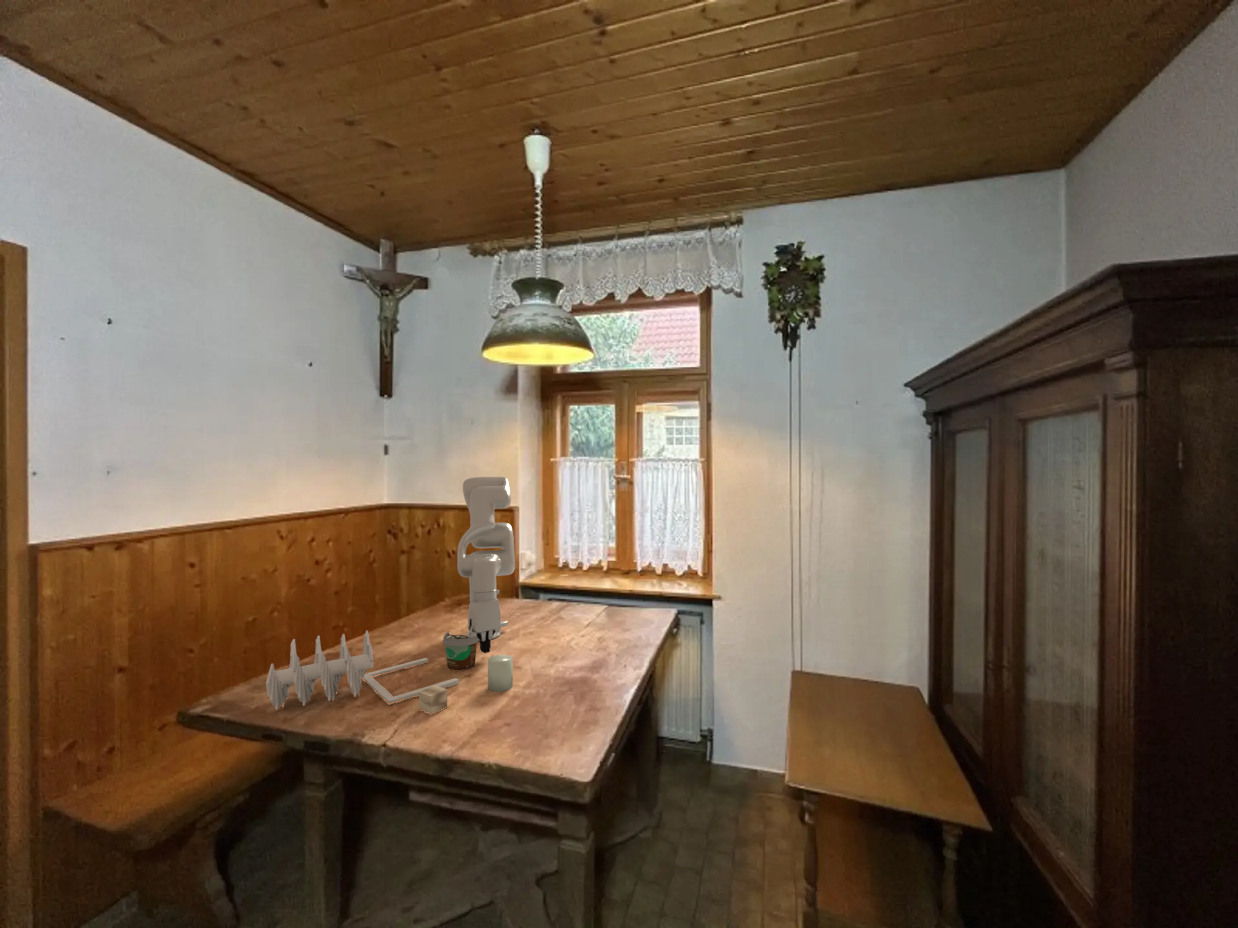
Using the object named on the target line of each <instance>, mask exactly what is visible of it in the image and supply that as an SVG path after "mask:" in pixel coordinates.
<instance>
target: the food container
mask: <svg viewBox="0 0 1238 928" xmlns="http://www.w3.org/2000/svg"><path fill="white" fill-rule="evenodd" d="M443 635H444V636H443V638H442V644H443V645H444V648H445V659H446V665H447V669H449V670H451V669H452V670H451V671H465V670H469V669H472V668H474V667H476V659H477V658H476V657H477V645H478V643H479V641H478V638H477V636H474V637H467V636H466V635H464V634H459V635H458V634H450V632H449V631H447V632H445V633H444V634H443Z"/></svg>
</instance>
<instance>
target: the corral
mask: <svg viewBox="0 0 1238 928" xmlns="http://www.w3.org/2000/svg"><path fill="white" fill-rule="evenodd" d="M426 662H428V663H429V659H428V657H423V658H420V659H416V660H412V661H409V662H408V661H407V662H404V663H401V664H397V665H393V666H389V667H386V668H381V669H378V670H375V671H371V672H365V676H364V677H361V678H363V679H364V680H365V681H366V682H367V683H368V684H369V685H370V686H371V687H372V688H374V690H376V692H378V694H380V696H382V698H383V699H385V700H386V701H387V702H388V703H393V702H396V701H400V700H402V699H407V698H411V697H413V696H418V695H419V692H420V691H422V690H425V689H427V688H429V687H431V686H434V685H436V686H439V687H442V688H445V689H447V688H446V687H448V688H450V687H453V686H458V685H459V684H460V679H458V678H457V677H454V678H451V679H448V680H444V681H440V682H437V683H435V684H430V685H427V686H424V687H421V688H418V689H415V690H412V691H408V692H404V693H401V694H398V695H395V696H393V694H391V693H390V692H389V691H388V689H386V688H385V687H384V686H382V685H381V683H379V682H378V681H377V680H376V679H375V678H373V677H371V676H375V675H378V674H383V673H386V672H391V671H393V670H398V669H403V668H405V667H410V666H413V665H418V664H421V663H426Z"/></svg>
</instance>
